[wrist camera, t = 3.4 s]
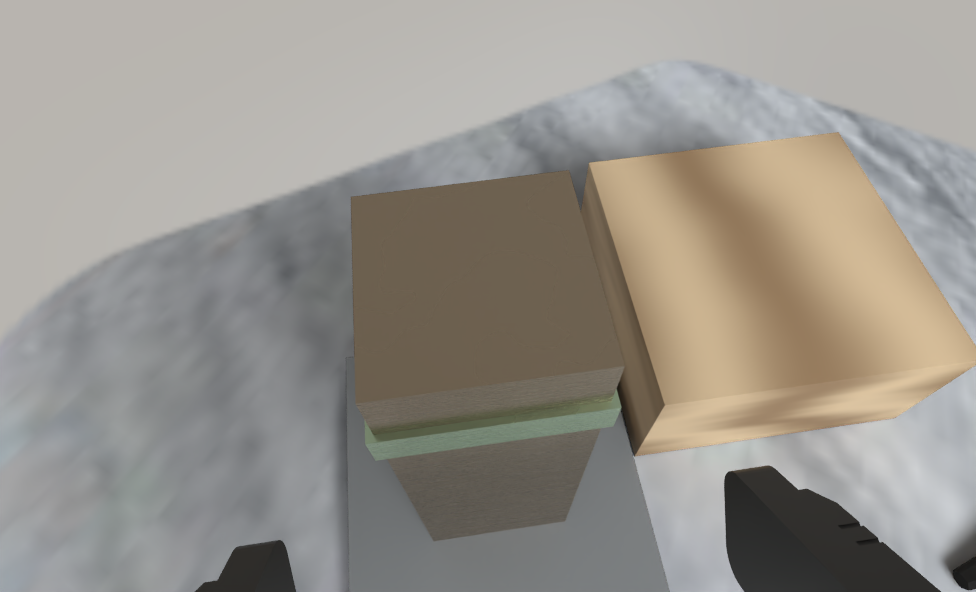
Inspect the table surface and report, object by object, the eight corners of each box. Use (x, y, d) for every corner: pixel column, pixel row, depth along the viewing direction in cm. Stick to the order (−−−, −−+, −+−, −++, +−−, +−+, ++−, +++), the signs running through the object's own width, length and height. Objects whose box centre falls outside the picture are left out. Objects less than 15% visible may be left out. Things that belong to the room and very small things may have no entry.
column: (544, 394, 22) (574, 163, 12) (570, 525, 20) (636, 373, 10) (418, 411, 22) (343, 192, 12) (429, 546, 20) (346, 413, 10)
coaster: (594, 335, 25) (597, 323, 24) (665, 604, 19) (672, 601, 19) (351, 368, 24) (346, 357, 23) (356, 653, 19) (350, 653, 18)
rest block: (787, 214, 28) (838, 132, 24) (894, 417, 23) (984, 359, 18) (576, 241, 27) (589, 162, 23) (634, 456, 22) (664, 405, 18)
